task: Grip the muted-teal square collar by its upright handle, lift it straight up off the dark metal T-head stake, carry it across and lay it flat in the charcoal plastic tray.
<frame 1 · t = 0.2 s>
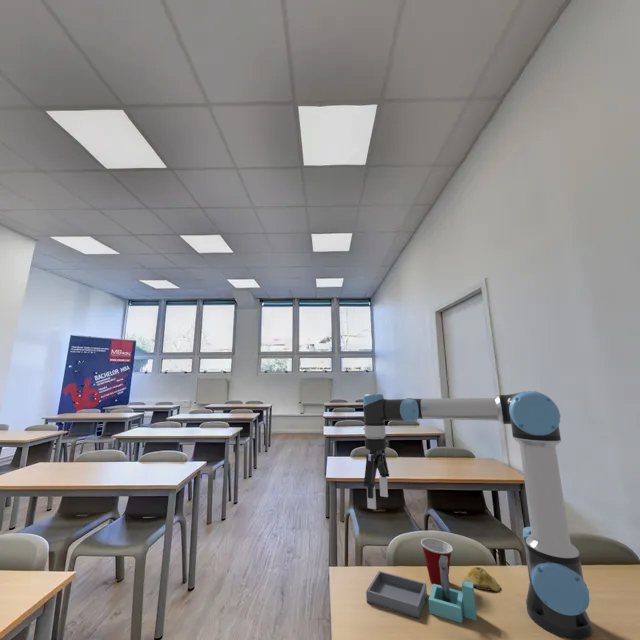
hand: (378, 502, 107), 28 cm above the table, tool pointing down, fingers open, 13 cm apart
tabbed collar: (447, 608, 94), on the table
t stake: (447, 608, 94), on the table
plastic cup: (439, 583, 107), on the table
fossil: (482, 584, 107), on the table
tray: (397, 597, 99), on the table
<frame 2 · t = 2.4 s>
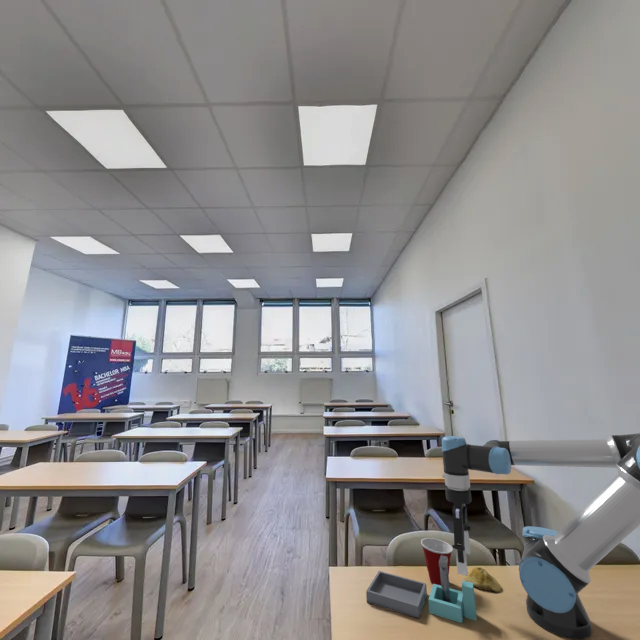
hand: (464, 563, 95), 13 cm above the table, tool pointing down, fingers open, 13 cm apart
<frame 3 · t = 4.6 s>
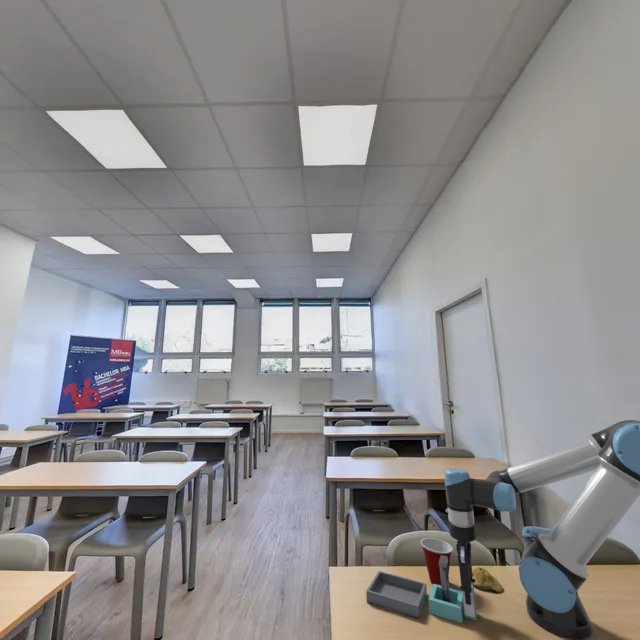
hand: (470, 611, 92), 1 cm above the table, tool pointing down, fingers closed on tabbed collar, 3 cm apart
tabbed collar: (447, 608, 94), on the table, touching gripper
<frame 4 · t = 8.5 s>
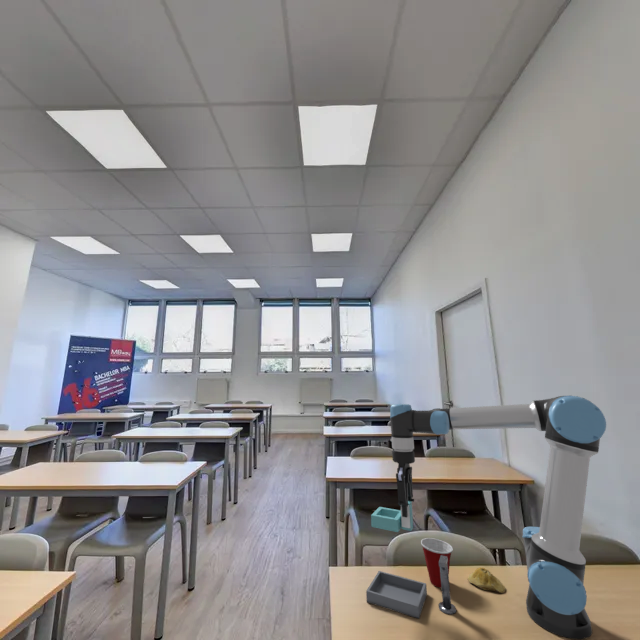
hand: (407, 524, 102), 22 cm above the table, tool pointing down, fingers closed on tabbed collar, 3 cm apart
tabbed collar: (388, 524, 105), point 21 cm above the table, touching gripper
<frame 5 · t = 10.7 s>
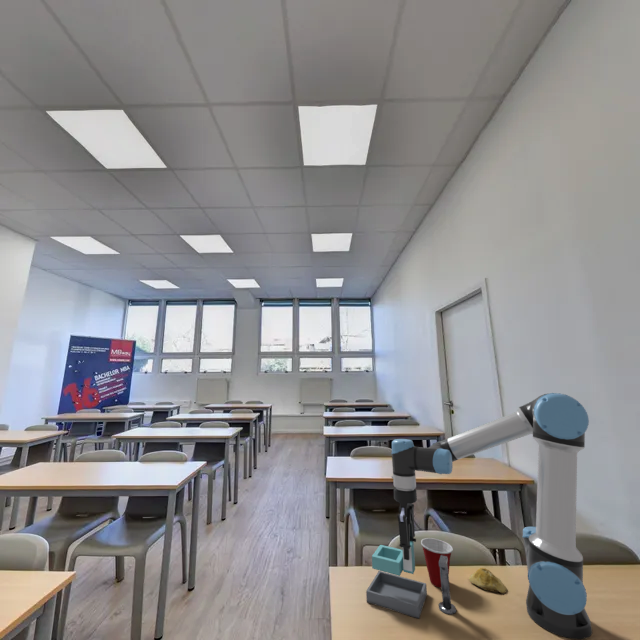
hand: (409, 567, 100), 10 cm above the table, tool pointing down, fingers closed on tabbed collar, 3 cm apart
tabbed collar: (389, 565, 102), point 9 cm above the table, touching gripper
when the fingers open (4 cm above the table, at t = 12.5 s): tabbed collar drops 2 cm, resting on tray.
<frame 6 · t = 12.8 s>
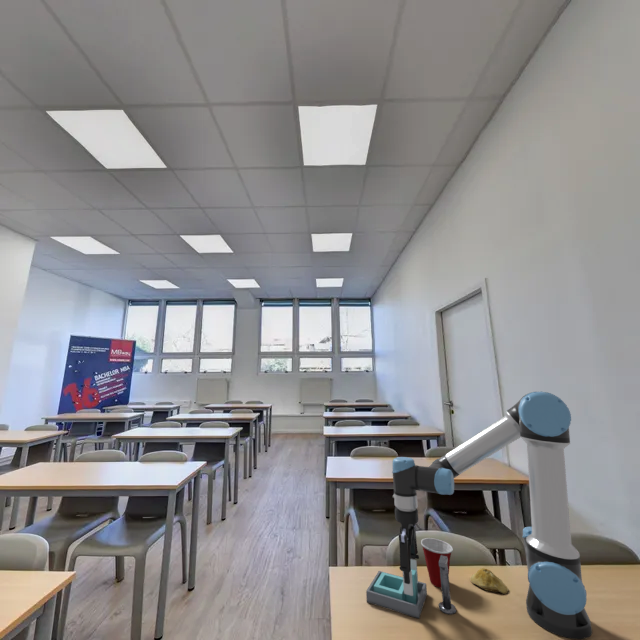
hand: (411, 587, 98), 4 cm above the table, tool pointing down, fingers open, 7 cm apart
tabbed collar: (392, 594, 100), resting on tray
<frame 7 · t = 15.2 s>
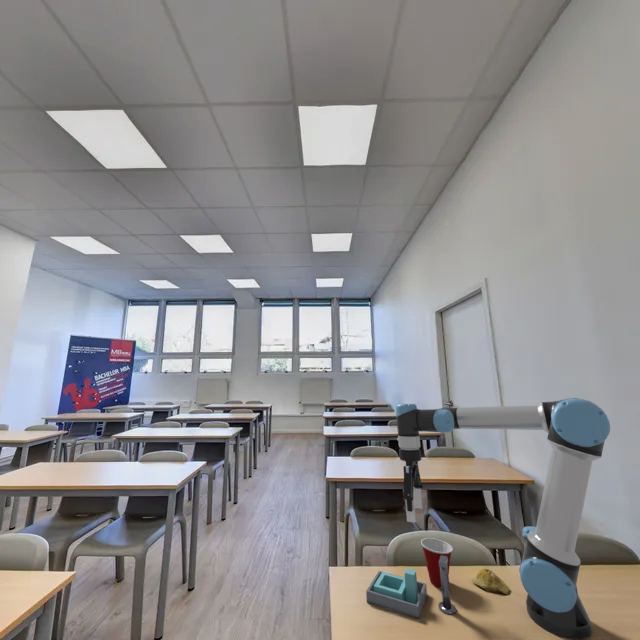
hand: (415, 514, 105), 24 cm above the table, tool pointing down, fingers open, 13 cm apart
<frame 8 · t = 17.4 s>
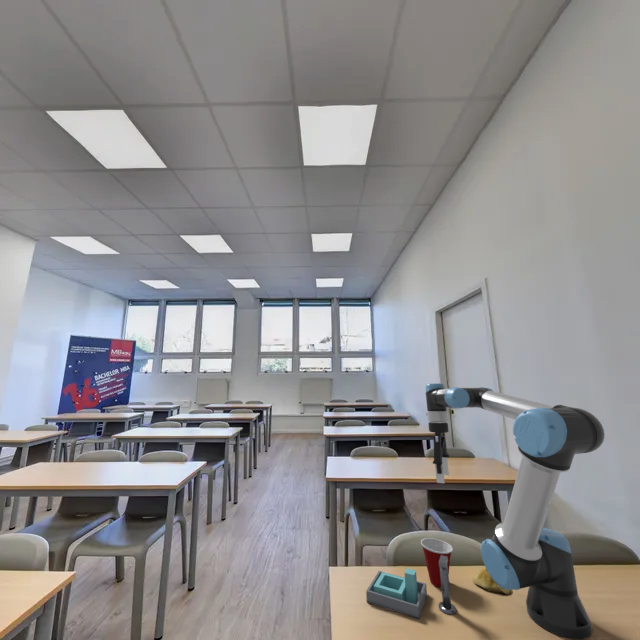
hand: (443, 478, 121), 32 cm above the table, tool pointing down, fingers open, 13 cm apart
at the end: tabbed collar inside the target area on the tray (0.1 cm from its centre), point 0.4 cm above the tray's base; tabbed collar tilted 0°; the gripper is holding nothing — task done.
